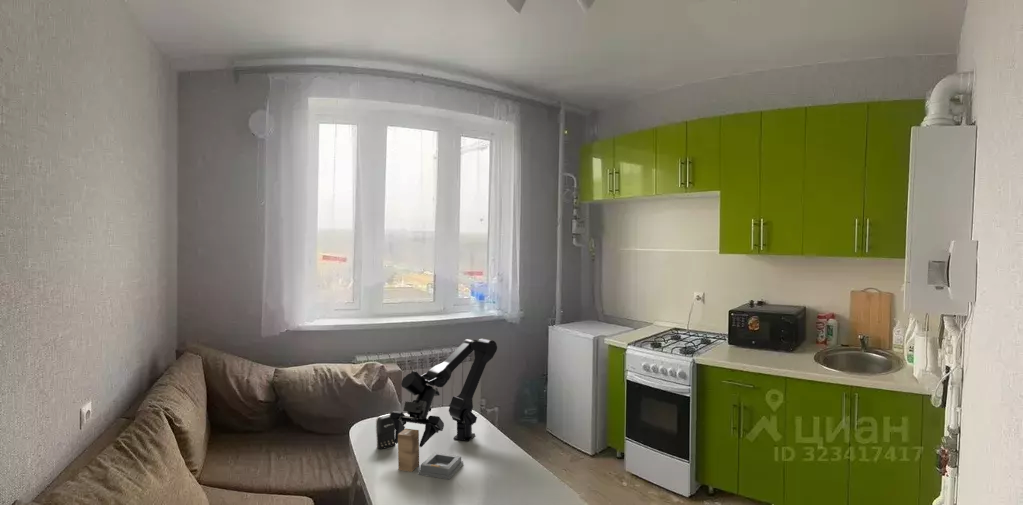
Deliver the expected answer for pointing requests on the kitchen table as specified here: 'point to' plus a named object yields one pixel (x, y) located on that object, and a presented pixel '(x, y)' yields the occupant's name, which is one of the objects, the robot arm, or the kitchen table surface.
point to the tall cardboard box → (408, 450)
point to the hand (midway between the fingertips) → (408, 445)
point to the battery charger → (385, 431)
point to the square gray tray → (441, 465)
